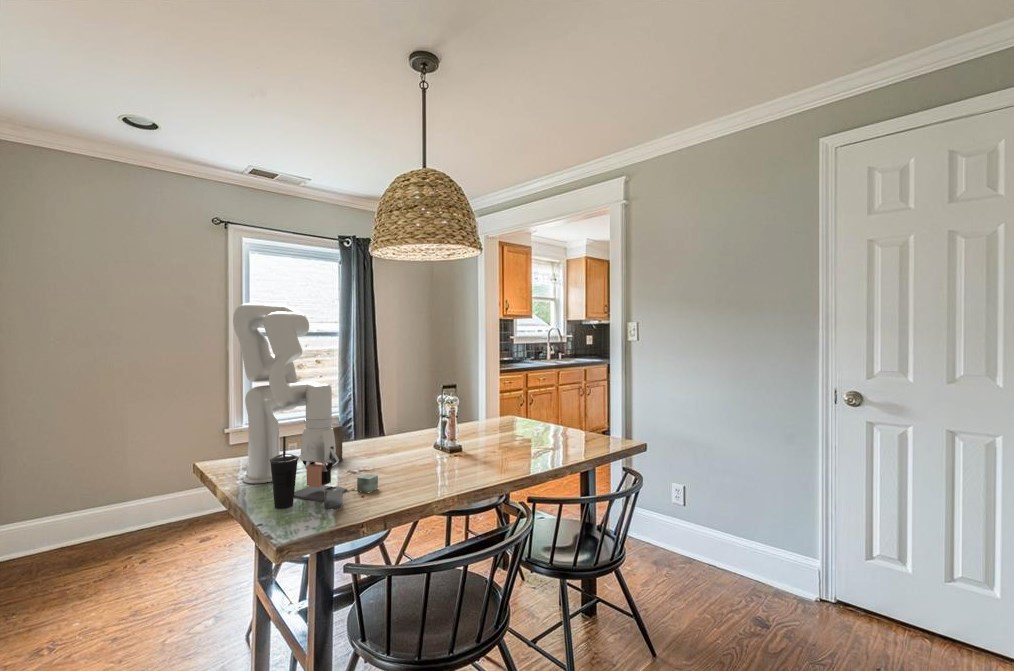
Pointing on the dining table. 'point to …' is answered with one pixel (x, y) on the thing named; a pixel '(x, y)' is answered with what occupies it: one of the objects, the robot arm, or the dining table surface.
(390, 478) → the dining table surface
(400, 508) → the dining table surface
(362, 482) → the green cube
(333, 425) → the pillar candle
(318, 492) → the black mat
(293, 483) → the drinking cup
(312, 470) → the terracotta block
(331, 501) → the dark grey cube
